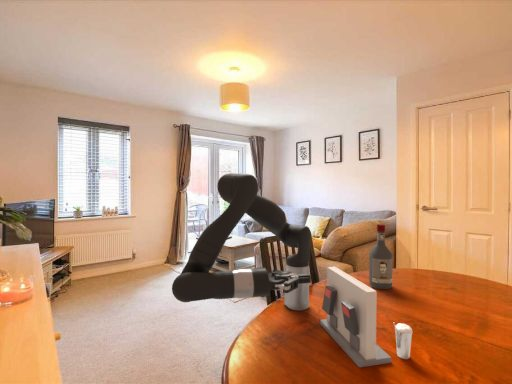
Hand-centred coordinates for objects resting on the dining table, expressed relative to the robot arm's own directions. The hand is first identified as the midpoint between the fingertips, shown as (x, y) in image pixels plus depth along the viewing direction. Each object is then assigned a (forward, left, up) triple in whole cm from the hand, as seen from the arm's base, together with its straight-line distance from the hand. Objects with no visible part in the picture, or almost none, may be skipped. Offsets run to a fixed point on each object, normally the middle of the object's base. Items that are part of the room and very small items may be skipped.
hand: (309, 278), depth 81 cm
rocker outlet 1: (-4, +17, -17) cm, 24 cm away
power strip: (+4, +17, -24) cm, 29 cm away
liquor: (-6, +74, -24) cm, 78 cm away
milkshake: (+19, +20, -24) cm, 36 cm away
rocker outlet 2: (+8, +11, -17) cm, 21 cm away
